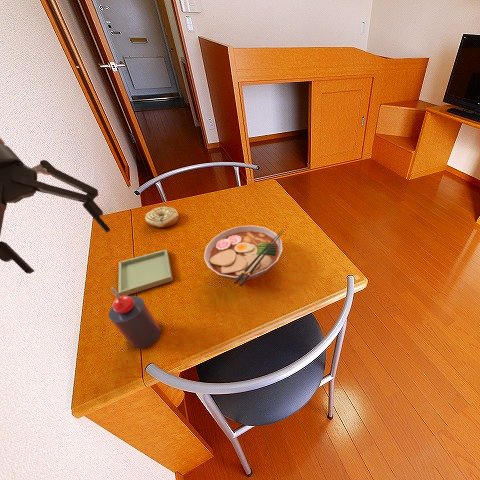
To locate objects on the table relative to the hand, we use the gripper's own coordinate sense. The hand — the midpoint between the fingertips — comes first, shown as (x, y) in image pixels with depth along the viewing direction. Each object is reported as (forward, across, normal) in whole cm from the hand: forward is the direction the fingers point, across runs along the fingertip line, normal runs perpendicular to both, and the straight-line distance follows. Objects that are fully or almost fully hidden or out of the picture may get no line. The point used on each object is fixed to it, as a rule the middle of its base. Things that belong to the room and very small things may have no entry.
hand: (72, 250), depth 54 cm
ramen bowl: (+27, -30, -12) cm, 42 cm away
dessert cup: (+24, +1, -10) cm, 26 cm away
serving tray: (+12, -9, -26) cm, 30 cm away
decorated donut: (0, -26, -44) cm, 51 cm away
